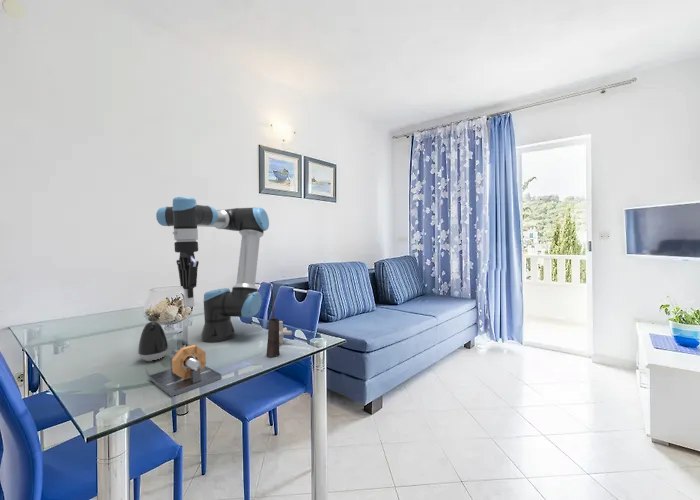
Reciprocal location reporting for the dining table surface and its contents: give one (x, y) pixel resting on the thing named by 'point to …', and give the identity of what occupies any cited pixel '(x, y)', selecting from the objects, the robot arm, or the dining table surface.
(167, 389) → the pipe stand
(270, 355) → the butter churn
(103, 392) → the dining table surface
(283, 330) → the pipe connector
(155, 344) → the black dome
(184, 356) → the ring
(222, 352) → the dining table surface
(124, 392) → the dining table surface
